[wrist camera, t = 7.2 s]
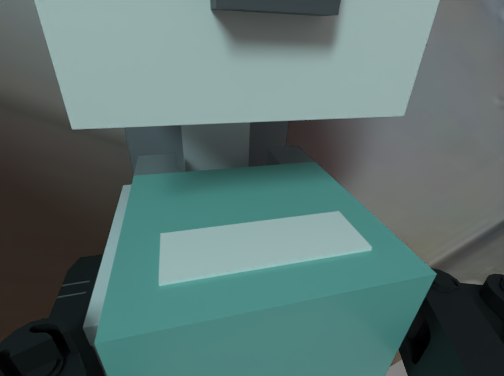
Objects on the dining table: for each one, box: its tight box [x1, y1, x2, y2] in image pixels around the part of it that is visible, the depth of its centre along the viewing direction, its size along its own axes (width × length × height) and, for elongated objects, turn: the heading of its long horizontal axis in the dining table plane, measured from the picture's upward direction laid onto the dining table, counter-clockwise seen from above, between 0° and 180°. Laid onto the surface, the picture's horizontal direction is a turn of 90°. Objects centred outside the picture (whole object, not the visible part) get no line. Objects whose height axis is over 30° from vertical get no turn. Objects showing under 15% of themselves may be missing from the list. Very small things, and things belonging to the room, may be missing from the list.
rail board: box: [34, 0, 440, 174], centre depth 11 cm, size 19×8×10 cm, turn 179°
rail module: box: [94, 146, 437, 376], centre depth 10 cm, size 5×7×8 cm
